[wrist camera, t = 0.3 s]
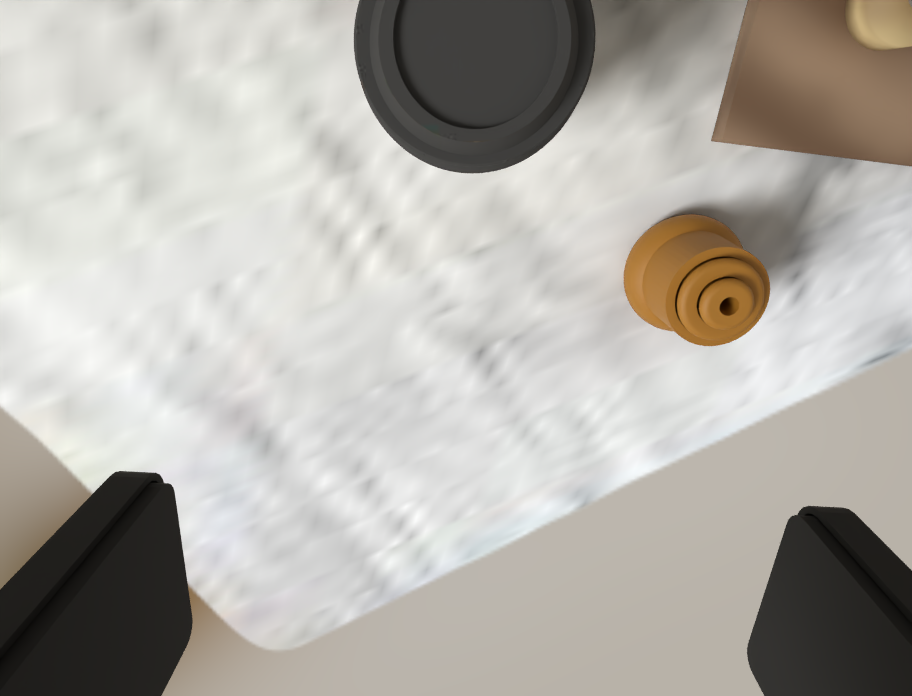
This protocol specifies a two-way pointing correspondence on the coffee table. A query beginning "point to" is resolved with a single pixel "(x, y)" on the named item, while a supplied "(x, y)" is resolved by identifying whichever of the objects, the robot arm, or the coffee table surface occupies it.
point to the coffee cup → (473, 75)
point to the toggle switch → (822, 79)
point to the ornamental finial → (696, 280)
